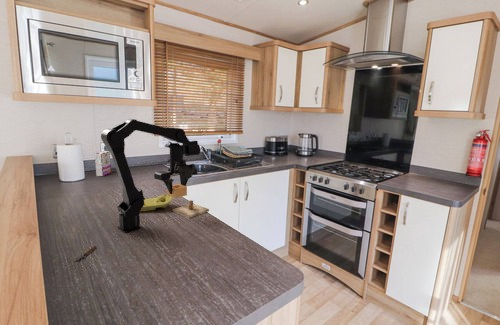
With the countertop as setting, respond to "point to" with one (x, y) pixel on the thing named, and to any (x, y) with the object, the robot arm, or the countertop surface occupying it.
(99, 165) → the candy bar box
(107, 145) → the robot arm
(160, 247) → the countertop surface
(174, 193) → the orange nut
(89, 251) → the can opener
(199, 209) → the beige peg base
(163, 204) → the plastic component
